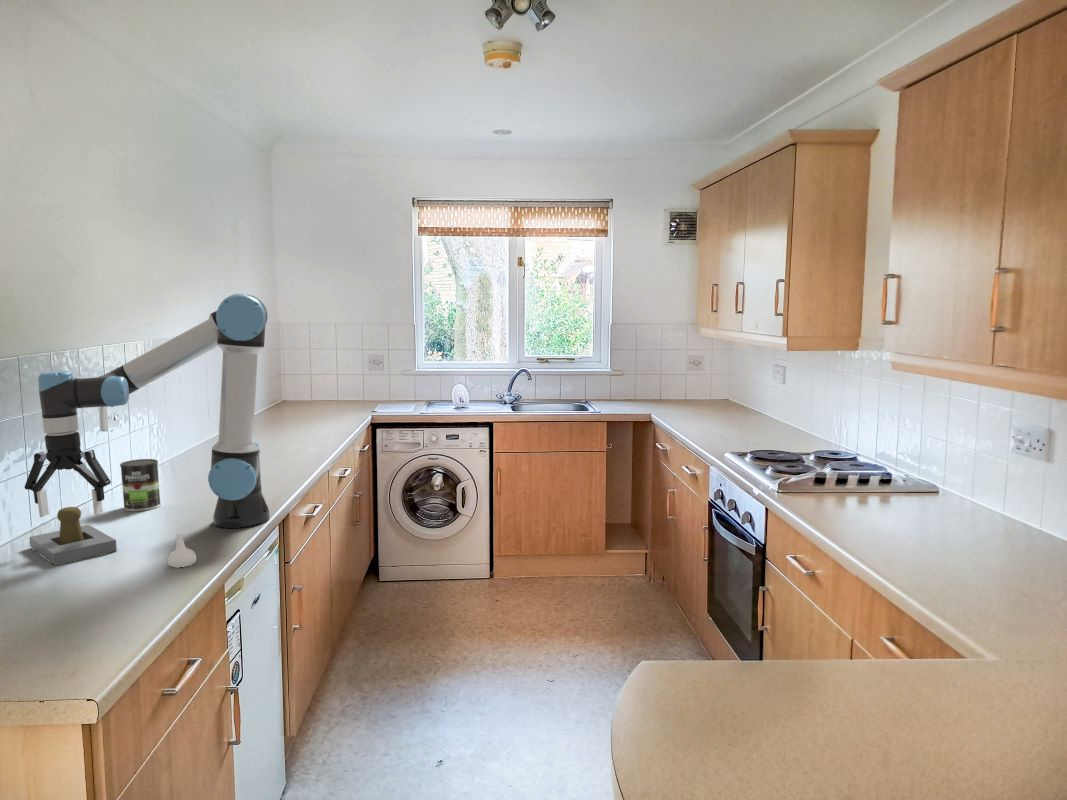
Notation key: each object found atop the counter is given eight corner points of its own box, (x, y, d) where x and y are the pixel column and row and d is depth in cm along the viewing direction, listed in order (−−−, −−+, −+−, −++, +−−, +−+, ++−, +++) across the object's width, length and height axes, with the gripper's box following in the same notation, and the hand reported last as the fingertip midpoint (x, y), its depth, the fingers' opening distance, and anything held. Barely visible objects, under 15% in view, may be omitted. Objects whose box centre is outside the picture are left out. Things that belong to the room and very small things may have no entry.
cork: (80, 544, 204) (76, 503, 202) (89, 548, 200) (86, 507, 199) (54, 550, 199) (51, 508, 198) (63, 554, 195) (60, 512, 194)
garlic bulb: (189, 560, 192) (185, 529, 191) (201, 563, 188) (198, 531, 187) (164, 567, 187) (159, 535, 186) (176, 571, 183) (172, 537, 182)
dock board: (116, 551, 198) (115, 539, 197) (54, 565, 188) (53, 553, 187) (89, 535, 211) (88, 524, 211) (30, 548, 201) (29, 536, 201)
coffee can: (157, 510, 236) (154, 464, 234) (120, 512, 233) (116, 467, 231) (164, 501, 246) (160, 457, 244) (128, 504, 243) (124, 460, 241)
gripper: (119, 428, 199) (128, 508, 202) (20, 431, 199) (30, 512, 202) (104, 433, 192) (113, 516, 195) (1, 437, 191) (12, 520, 194)
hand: (71, 514), depth 198 cm, fingers open, 13 cm apart
